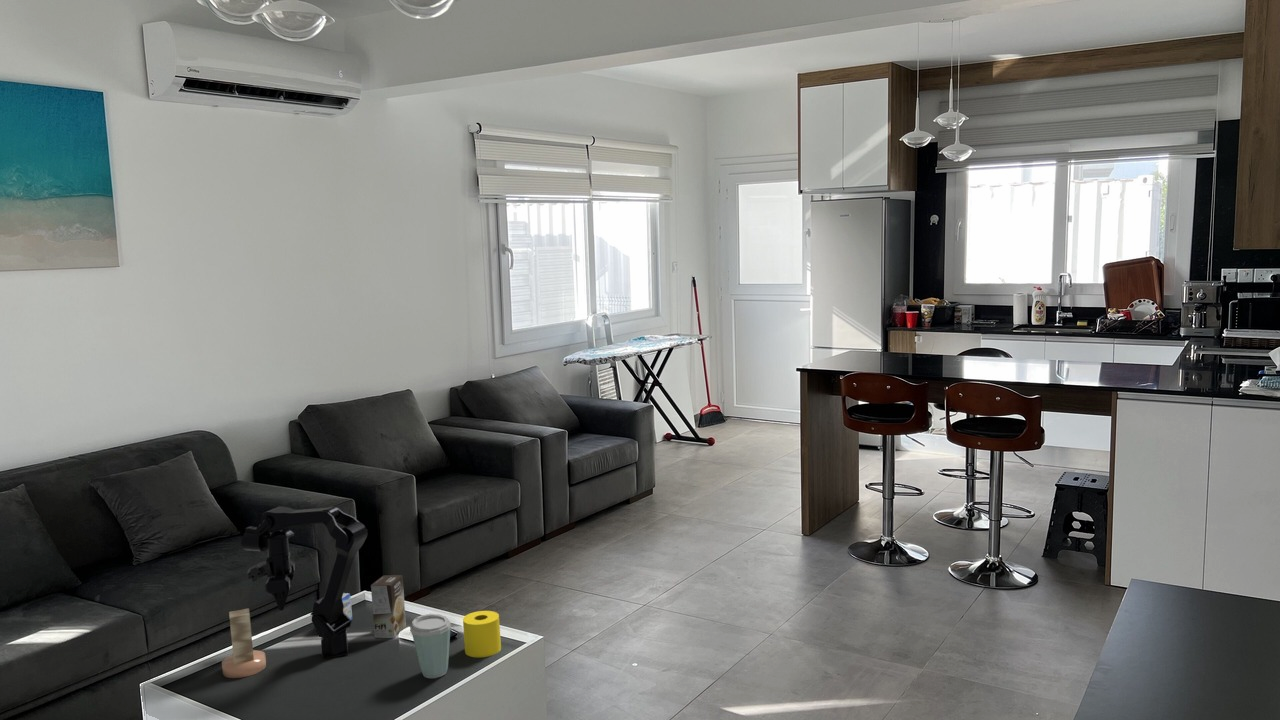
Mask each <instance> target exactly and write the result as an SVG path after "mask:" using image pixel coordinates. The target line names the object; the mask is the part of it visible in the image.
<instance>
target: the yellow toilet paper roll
mask: <svg viewBox="0 0 1280 720" xmlns="http://www.w3.org/2000/svg"><path fill="white" fill-rule="evenodd" d="M462 624H463V625H462V627H463V642H464V653H465V655H466V656H468V657H471V658H486V657H491V656H494V655H495V654H498V653H499V652H500V651H501V650H502V641H501V640H502V639H501V627H500V614H499V613H498V612H497V611H491V610H479V611H473V612H470V613H468V614H466V615H465V616H464V617H463V618H462Z"/></svg>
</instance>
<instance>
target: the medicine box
mask: <svg viewBox="0 0 1280 720" xmlns="http://www.w3.org/2000/svg"><path fill="white" fill-rule="evenodd" d="M342 601H343V605H344V609H343V612H344V613H345V614H346V615H347V616H348V617H349V618H350V619H351V621H352V620H353V611H352V609H353V608H352V600H351V593H350V592H349V593H348V592H347V593H346V592H344V593H343V596H342ZM334 625H335V624H334ZM332 626H333V625H332ZM332 626H331V627H332Z"/></svg>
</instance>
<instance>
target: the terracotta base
mask: <svg viewBox="0 0 1280 720" xmlns="http://www.w3.org/2000/svg"><path fill="white" fill-rule="evenodd" d="M253 656H254V660H251V661H246V662H241V663H236V664H234V658H233V653H232V654H230V655H228V656H226V657H225V658H224V659H222V661H221V668H222V675H223V676H224V677H225V678H229V679H239V678H240V679H241V678H245V677H246V678H248V677H250V676H253V675H255V674H258V673H261V672H262V671H263V670H264V669H265V668H266V667H267V658H266V653H265V652H264V651H262V650H255V649H253Z"/></svg>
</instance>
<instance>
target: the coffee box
mask: <svg viewBox="0 0 1280 720" xmlns="http://www.w3.org/2000/svg"><path fill="white" fill-rule="evenodd" d="M370 589H371V590H370V592H371V602H372V603H371V607H372V619H373V632H374V633H373V634H374V638H375V639H394V638H396V637H397V636H398V635H399V634H400V633H401V632H400V631H401V630H402V631H403V630H405V628H406V627H407V623H406V622H407V620H406V607H405V593H404V592H405V591H404V579H403V575H402V574H400V575H399V574H391V575H390V574H389V575H387V574H385V575H382V576H381V577H379V578H378V579H377V580H375V581H374V582H373V583H372V584H371V585H370ZM399 632H400V633H399Z"/></svg>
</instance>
